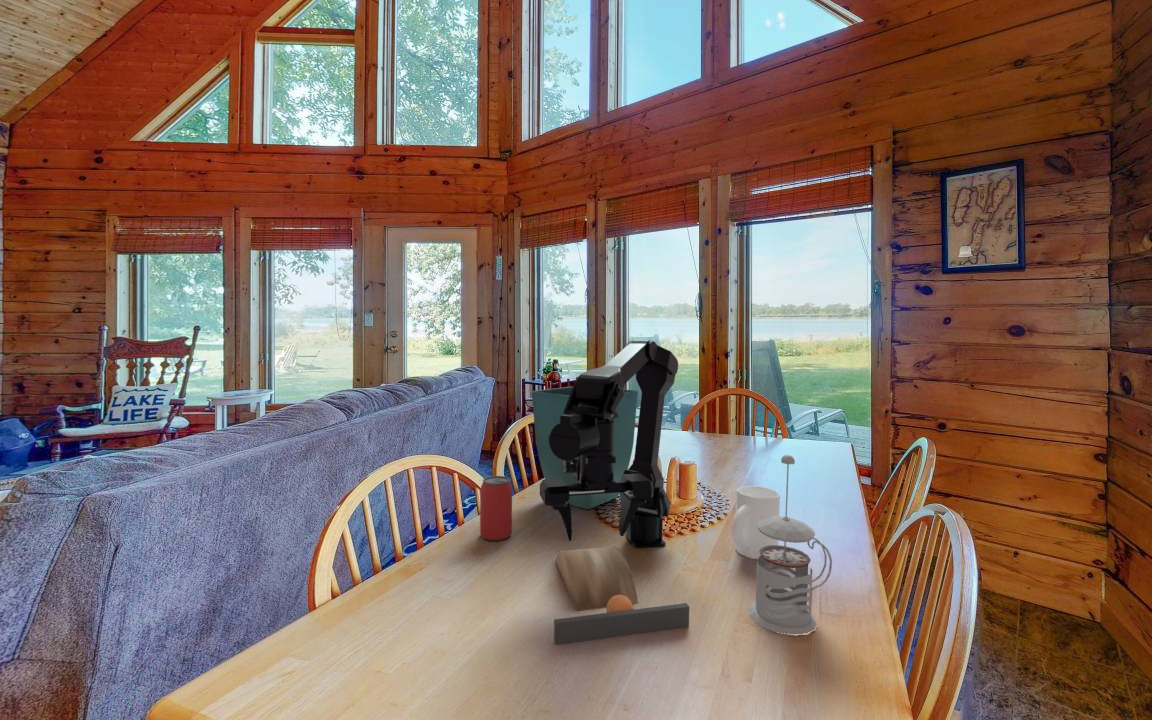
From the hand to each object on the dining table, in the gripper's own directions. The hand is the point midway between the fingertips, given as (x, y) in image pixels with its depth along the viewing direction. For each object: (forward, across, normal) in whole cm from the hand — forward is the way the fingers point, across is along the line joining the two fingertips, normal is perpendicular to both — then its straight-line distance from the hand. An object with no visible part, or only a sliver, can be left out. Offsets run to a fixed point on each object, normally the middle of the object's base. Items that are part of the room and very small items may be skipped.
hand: (595, 537), depth 86 cm
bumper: (+8, 0, +15) cm, 17 cm away
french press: (+8, -26, +16) cm, 32 cm away
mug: (+8, -33, -4) cm, 34 cm away
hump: (+25, 0, -1) cm, 25 cm away
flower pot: (+8, -9, -43) cm, 44 cm away
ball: (+6, 0, +12) cm, 14 cm away
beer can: (+8, +15, -24) cm, 29 cm away
